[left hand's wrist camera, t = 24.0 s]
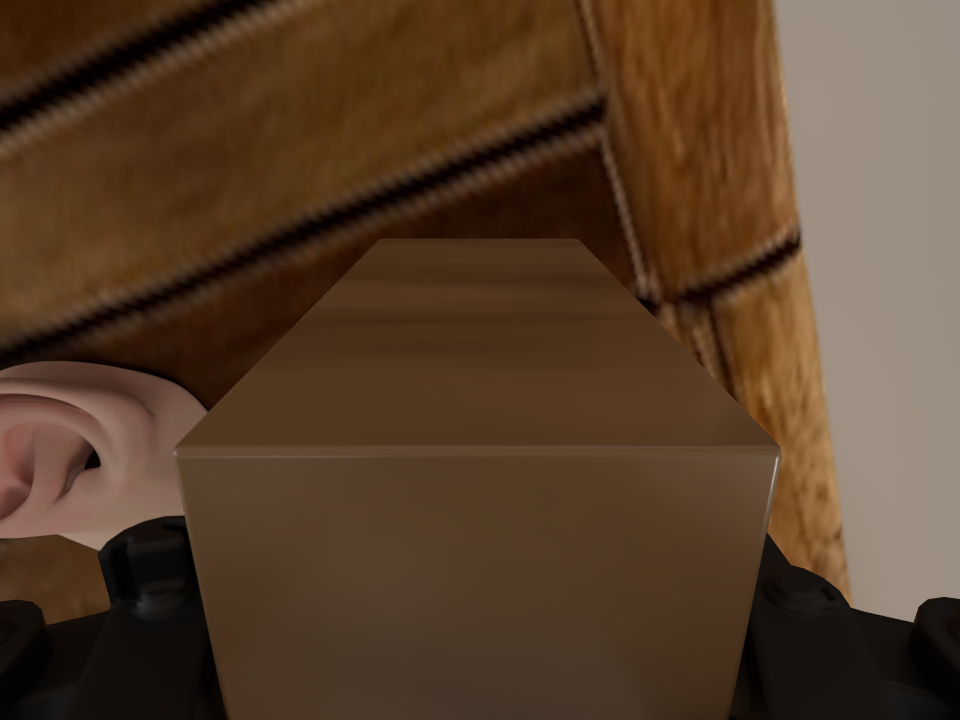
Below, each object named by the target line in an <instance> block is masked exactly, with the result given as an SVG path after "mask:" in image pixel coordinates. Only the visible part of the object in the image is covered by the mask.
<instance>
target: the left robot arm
mask: <svg viewBox="0 0 960 720" xmlns="http://www.w3.org/2000/svg"><path fill="white" fill-rule="evenodd" d="M98 558H99V562H100V565H101V569H102V573H103V576H104V580H105V584H106V587H107V591H108V595H109V598H110V602H111V607H110V609H109V610H108V611H105V612H101V613H98V614H95V615H90V616H86V617H81V618H77V619H72V620H68V621H63V622H59V623H54V624H50V625H47V624H46V621H45V618H44V615H43V612H42V610H41V609H40V608H39V607H38V606H37V605H35V604H34V603H33V602H29V601H22V600H10V601H3V602H0V720H227V718H226V713H225V709H224V704H223V699H222V694H221V689H220V684H219V680H218V675H217V670H216V665H215V660H214V655H213V650H212V646H211V641H210V636H209V631H208V626H207V621H206V617H205V612H204V607H203V602H202V597H201V592H200V587H199V583H198V578H197V573H196V568H195V563H194V558H193V554H192V549H191V544H190V539H189V534H188V529H187V524H186V520H185V515H180V516H163V517H159V518H155V519H151V520H146V521H143V522H141V523H139V524H136V525H134V526H132V527H129V528H127V529H125V530H123V531H122V532H120V533H119V534H117V535H116V536H114V537H113V538H111V539H110V540H109V541H107V543H106V544H105V545H104V546H103V547H102V549H101V550H100V551H99V552H98ZM729 720H960V599H955V598H948V597H940V598H933V599H928V600H926V601H925V602H924V603H923V604H922V605H920V606H919V607H918V611H917V614H916V617H915V620H914V623H913V622H908V621H904V620H899V619H895V618H890V617H885V616H881V615H877V614H872V613H868V612H864V611H860V610H857V609H854V608H850V606H849V604H848V602H847V601H846V599H845V598H844V597H843V595H842V594H841V592H840V591H839V590H838V589H837V588H836V587H834V586H833V585H832V584H830V583H829V582H828V581H827V580H825V579H824V578H822V577H820V576H818V575H816V574H814V573H812V572H810V571H808V570H806V569H804V568H800V567H796V566H793V565H790V563H789V562H788V561H787V559H786V558H785V556H784V555H783V554H782V552H781V551H780V550H779V548H778V547H777V545H776V544H775V543H774V541H773V540H772V539H771V537H770V536H769V534H768V533H766V538H765V543H764V548H763V553H762V558H761V562H760V567H759V572H758V577H757V582H756V587H755V592H754V597H753V602H752V607H751V612H750V616H749V621H748V626H747V631H746V636H745V641H744V646H743V651H742V656H741V661H740V666H739V671H738V675H737V680H736V685H735V690H734V695H733V700H732V705H731V710H730V715H729Z"/></svg>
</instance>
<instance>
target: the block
mask: <svg viewBox="0 0 960 720" xmlns="http://www.w3.org/2000/svg"><path fill="white" fill-rule="evenodd" d="M781 459H782V454H781V449H780V446H779V445H778V444H777V443H776V442H775V441H774V440H773V439H772V438H771V437H770V436H769V435H768V434H767V433H766V432H765V431H764V430H763V429H762V428H761V427H760V425H759V424H758V423H757V422H756V421H755V420H754V419H753V418H752V417H751V416H750V415H749V414H748V413H747V412H746V411H745V410H744V409H743V408H742V407H741V406H740V405H739V404H738V403H737V402H736V401H735V400H734V399H733V398H732V397H731V396H730V395H729V394H728V393H727V392H726V391H725V390H724V389H723V387H722V386H721V385H720V384H719V383H718V382H717V381H716V380H715V379H714V378H713V377H712V376H711V375H710V374H709V373H708V372H707V371H706V370H705V369H704V368H703V367H702V366H701V365H700V364H699V363H698V362H697V361H696V360H695V359H694V358H693V357H692V356H691V355H690V354H689V353H688V352H687V351H686V350H685V348H684V347H683V346H682V345H681V344H680V343H679V342H678V341H677V340H676V339H675V338H674V337H673V336H672V335H671V334H670V333H669V332H668V331H667V330H666V329H665V328H664V327H663V326H662V325H661V324H660V323H659V322H658V321H657V320H656V319H655V318H654V317H653V316H652V315H651V314H650V313H649V312H648V310H647V309H646V308H645V307H644V306H643V305H642V304H641V303H640V302H639V301H638V300H637V299H636V298H635V297H634V296H633V295H632V294H631V293H630V292H629V291H628V290H627V289H626V288H625V287H624V286H623V285H622V284H621V283H620V282H619V281H618V280H617V279H616V278H615V277H614V276H613V275H612V274H611V273H610V271H609V270H608V269H607V268H606V267H605V266H604V265H603V264H602V263H601V262H600V261H599V260H598V259H597V258H596V257H595V256H594V255H593V254H592V253H591V252H590V251H589V250H588V249H587V248H586V247H585V246H584V245H583V244H582V243H581V242H580V241H579V240H578V239H380V240H378V241H377V242H376V243H375V244H374V245H373V246H372V247H371V248H370V249H369V250H368V251H367V252H366V253H365V254H364V256H363V257H362V258H361V259H360V260H359V261H358V262H357V263H356V264H355V265H354V266H353V267H352V268H351V269H350V270H349V271H348V272H347V273H346V274H345V275H344V276H343V277H342V278H341V279H340V280H339V281H338V282H337V283H336V284H335V285H334V286H333V287H332V288H331V289H330V290H329V291H328V292H327V293H326V294H325V295H324V296H323V297H322V298H321V299H320V300H319V301H318V302H317V303H316V304H315V305H314V306H313V307H312V308H311V309H310V310H309V311H308V312H307V313H306V314H305V315H304V316H303V317H302V318H301V319H300V320H299V321H298V322H297V323H296V324H295V325H294V326H293V327H292V328H291V329H290V330H289V331H288V332H287V333H286V334H285V335H284V336H283V337H282V338H281V339H280V340H279V341H278V342H277V343H276V344H275V345H274V347H273V348H272V349H271V350H270V351H269V352H268V353H267V354H266V355H265V356H264V357H263V358H262V359H261V360H260V361H259V362H258V363H257V364H256V365H255V366H254V367H253V368H252V369H251V370H250V371H249V372H248V373H247V374H246V375H245V376H244V377H243V378H242V379H241V380H240V381H239V382H238V383H237V384H236V385H235V386H234V387H233V388H232V389H231V390H230V391H229V392H228V393H227V394H226V395H225V396H224V397H223V398H222V399H221V400H220V401H219V402H218V403H217V404H216V405H215V406H214V407H213V408H212V409H211V410H210V411H209V412H208V413H207V414H206V415H205V416H204V417H203V418H202V419H201V420H200V421H199V422H198V423H197V424H196V425H195V426H194V427H193V428H192V429H191V430H190V431H189V432H188V433H187V434H186V435H185V436H184V438H183V439H182V440H181V441H180V442H179V443H178V444H177V445H176V446H175V448H174V451H173V462H174V466H175V471H176V476H177V481H178V486H179V491H180V495H181V500H182V505H183V510H184V515H185V520H186V524H187V529H188V534H189V539H190V544H191V549H192V554H193V558H194V563H195V568H196V573H197V578H198V583H199V587H200V592H201V597H202V602H203V607H204V612H205V617H206V621H207V626H208V631H209V636H210V641H211V646H212V650H213V655H214V660H215V665H216V670H217V675H218V680H219V684H220V689H221V694H222V699H223V704H224V709H225V713H226V718H227V720H729V715H730V710H731V705H732V700H733V695H734V690H735V685H736V680H737V675H738V671H739V666H740V661H741V656H742V651H743V646H744V641H745V636H746V631H747V626H748V621H749V616H750V612H751V607H752V602H753V597H754V592H755V587H756V582H757V577H758V572H759V567H760V562H761V558H762V553H763V548H764V543H765V538H766V533H767V528H768V523H769V518H770V513H771V508H772V503H773V499H774V494H775V489H776V484H777V479H778V474H779V469H780V464H781Z"/></svg>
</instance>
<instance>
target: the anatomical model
mask: <svg viewBox="0 0 960 720" xmlns="http://www.w3.org/2000/svg"><path fill="white" fill-rule="evenodd" d="M207 413H208V411H207V410H206V409H205V408H204V407H203V406H202V405H201V403H200V402H199V401H198V400H197V399H196V398H195V397H194V396H192V395H191V394H190V393H189V392H188V391H187V390H185V389H184V388H182V387H181V386H179V385H177V384H175V383H173V382H171V381H168V380H165V379H162V378H159V377H156V376H153V375H150V374H146V373H142V372H137V371H133V370H128V369H122V368H117V367H112V366H106V365H99V364H92V363H84V362H70V361H42V362H34V363H27V364H22V365H18V366H13V367H10V368H7V369H4V370H2V371H0V538H22V537H32V536H42V535H52V534H59V535H61V536H64V537H66V538H69V539H71V540H73V541H76V542H78V543H81V544H84V545H86V546H89V547H91V548H94V549H97V550H101V549H102V547H103V546H104V545H105V544H106V543H107V541H109V540H110V539H111V538H113V537H114V536H116V535H117V534H119V533H120V532H122V531H123V530H125V529H127V528H129V527H132V526H134V525H136V524H139V523H141V522H143V521H146V520H151V519H155V518H159V517H163V516H180V515H184V510H183V505H182V500H181V495H180V491H179V486H178V481H177V476H176V471H175V466H174V462H173V451H174V448H175V446H176V445H177V444H178V443H179V442H180V441H181V440H182V439H183V438H184V436H185V435H186V434H187V433H188V432H189V431H190V430H191V429H192V428H193V427H194V426H195V425H196V424H197V423H198V422H199V421H200V420H201V419H202V418H203V417H204V416H205V415H206V414H207Z"/></svg>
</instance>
